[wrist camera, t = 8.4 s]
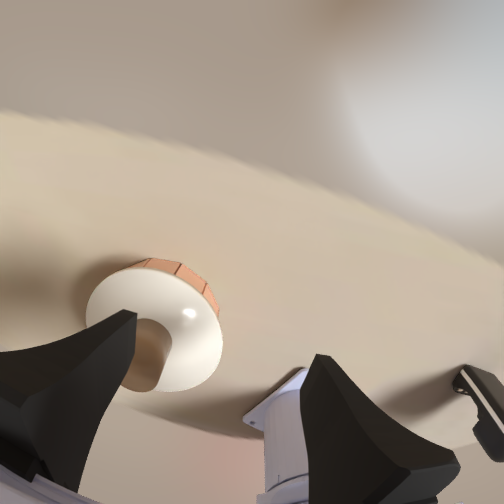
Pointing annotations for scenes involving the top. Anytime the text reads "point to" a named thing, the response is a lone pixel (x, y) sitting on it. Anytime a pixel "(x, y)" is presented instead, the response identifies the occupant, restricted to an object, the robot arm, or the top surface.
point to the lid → (161, 328)
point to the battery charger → (485, 408)
